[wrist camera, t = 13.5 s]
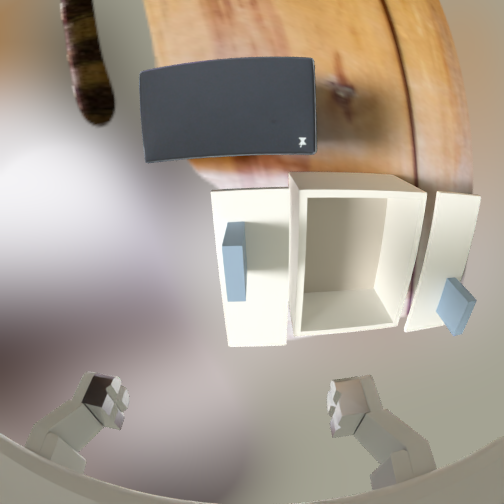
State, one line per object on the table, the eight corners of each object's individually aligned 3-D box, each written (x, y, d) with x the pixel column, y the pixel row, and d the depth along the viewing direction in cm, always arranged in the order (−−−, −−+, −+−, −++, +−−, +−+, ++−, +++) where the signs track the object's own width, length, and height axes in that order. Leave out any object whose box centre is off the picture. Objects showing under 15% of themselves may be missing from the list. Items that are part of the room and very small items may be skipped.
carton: (288, 172, 26) (299, 189, 20) (392, 174, 26) (427, 192, 20) (287, 294, 32) (293, 336, 26) (375, 289, 32) (396, 326, 26)
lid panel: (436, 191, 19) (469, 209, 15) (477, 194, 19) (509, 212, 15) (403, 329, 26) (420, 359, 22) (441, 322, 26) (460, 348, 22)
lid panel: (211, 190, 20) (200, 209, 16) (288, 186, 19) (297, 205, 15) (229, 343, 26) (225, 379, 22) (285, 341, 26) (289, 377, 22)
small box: (294, 77, 22) (318, 53, 13) (295, 144, 25) (320, 159, 16) (179, 84, 22) (136, 67, 13) (183, 149, 25) (143, 168, 16)
